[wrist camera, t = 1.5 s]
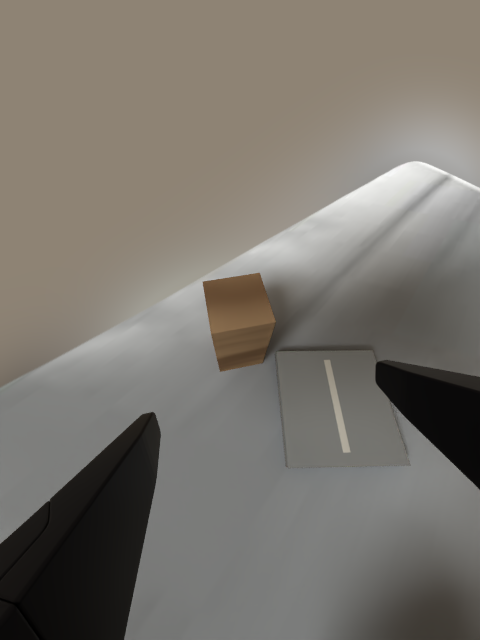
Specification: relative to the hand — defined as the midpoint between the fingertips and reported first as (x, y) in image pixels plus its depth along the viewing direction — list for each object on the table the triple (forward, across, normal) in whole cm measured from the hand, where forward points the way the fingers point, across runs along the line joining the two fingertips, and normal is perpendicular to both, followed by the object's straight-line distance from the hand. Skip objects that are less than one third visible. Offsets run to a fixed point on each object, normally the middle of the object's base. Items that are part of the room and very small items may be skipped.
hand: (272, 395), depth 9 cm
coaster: (+10, -8, +9) cm, 15 cm away
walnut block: (+15, 0, +4) cm, 15 cm away
